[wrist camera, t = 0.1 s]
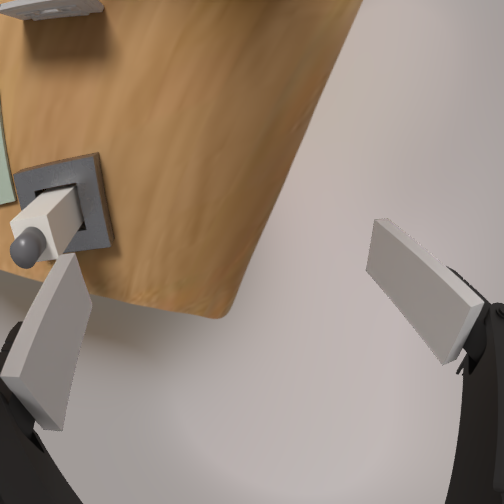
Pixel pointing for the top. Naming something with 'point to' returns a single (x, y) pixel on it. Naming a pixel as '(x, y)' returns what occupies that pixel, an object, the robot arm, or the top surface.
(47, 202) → the plug
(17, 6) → the cassette
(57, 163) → the socket
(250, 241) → the top surface
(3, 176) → the mat
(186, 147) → the top surface
